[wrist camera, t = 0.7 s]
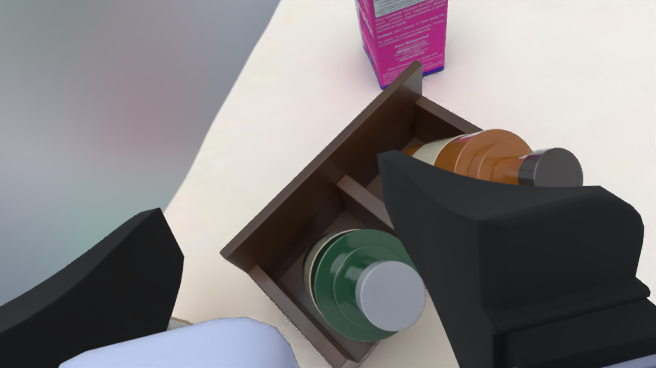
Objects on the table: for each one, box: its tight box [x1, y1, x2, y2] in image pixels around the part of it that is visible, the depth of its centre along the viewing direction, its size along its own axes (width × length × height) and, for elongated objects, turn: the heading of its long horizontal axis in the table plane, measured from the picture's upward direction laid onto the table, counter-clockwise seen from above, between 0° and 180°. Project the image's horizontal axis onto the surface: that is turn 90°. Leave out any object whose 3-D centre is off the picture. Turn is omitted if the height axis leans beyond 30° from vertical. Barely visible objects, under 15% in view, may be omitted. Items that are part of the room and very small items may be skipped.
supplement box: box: [355, 0, 448, 90], centre depth 29 cm, size 6×6×12 cm
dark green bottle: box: [302, 229, 426, 342], centre depth 19 cm, size 5×5×10 cm
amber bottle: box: [403, 129, 583, 187], centre depth 21 cm, size 5×5×10 cm
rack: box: [220, 60, 484, 368], centre depth 24 cm, size 8×16×8 cm, turn 136°
